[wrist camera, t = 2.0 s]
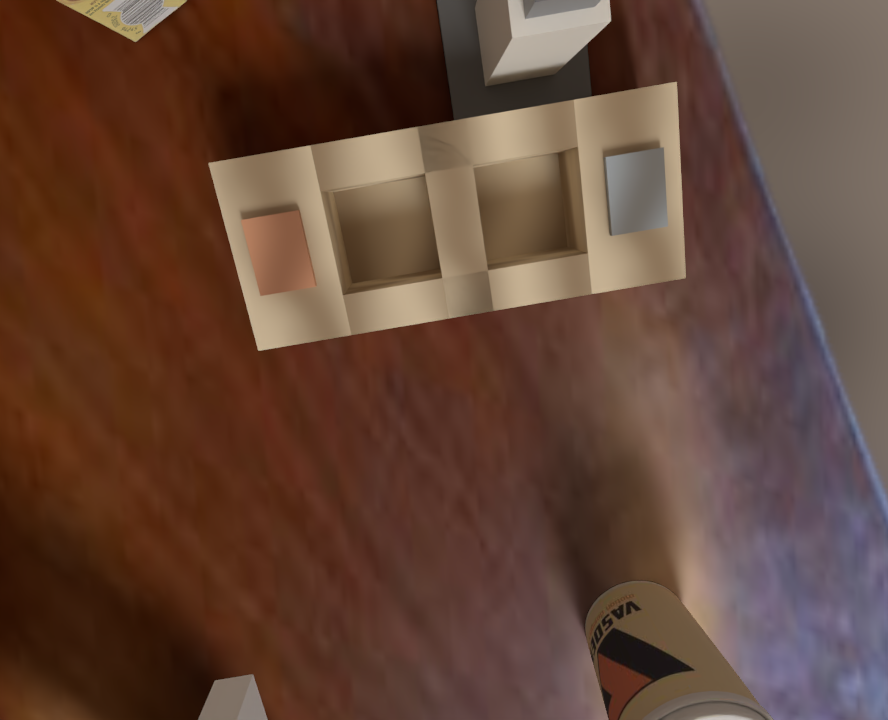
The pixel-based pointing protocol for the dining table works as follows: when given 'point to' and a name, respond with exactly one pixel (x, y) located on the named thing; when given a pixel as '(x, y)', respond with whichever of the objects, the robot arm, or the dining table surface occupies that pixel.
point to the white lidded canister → (661, 660)
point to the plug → (534, 35)
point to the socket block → (457, 216)
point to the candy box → (126, 13)
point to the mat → (483, 100)
